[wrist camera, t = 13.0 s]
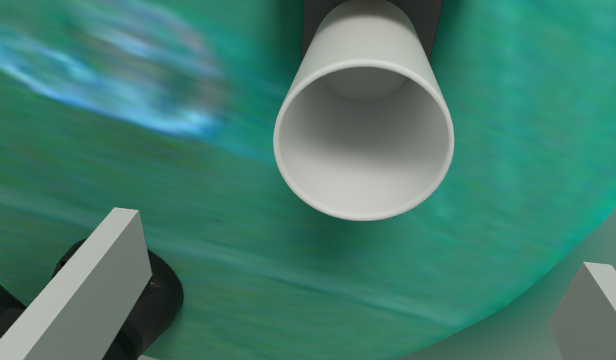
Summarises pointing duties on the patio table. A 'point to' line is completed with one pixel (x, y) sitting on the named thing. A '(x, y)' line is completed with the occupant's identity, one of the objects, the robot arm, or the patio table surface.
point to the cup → (364, 117)
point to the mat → (414, 3)
